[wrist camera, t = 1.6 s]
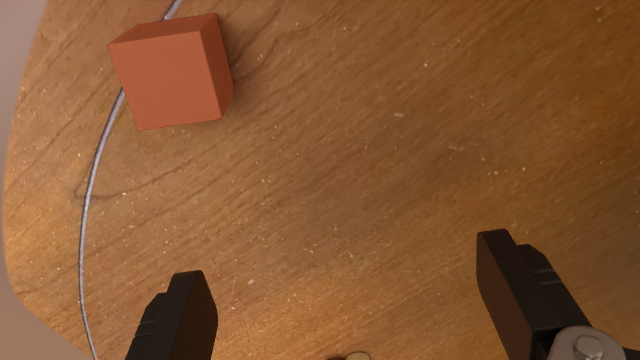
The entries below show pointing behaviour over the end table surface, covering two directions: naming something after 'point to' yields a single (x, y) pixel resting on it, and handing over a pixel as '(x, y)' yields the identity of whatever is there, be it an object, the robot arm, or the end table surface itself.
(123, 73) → the block
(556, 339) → the robot arm
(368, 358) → the grandmother figurine
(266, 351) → the end table surface
